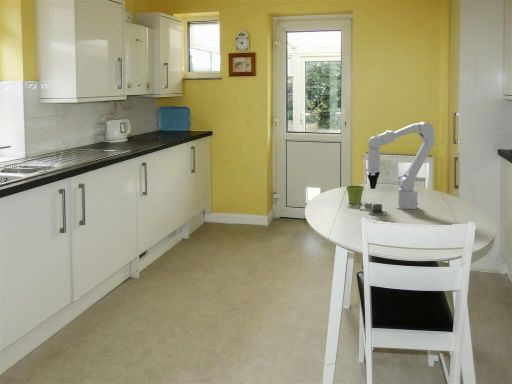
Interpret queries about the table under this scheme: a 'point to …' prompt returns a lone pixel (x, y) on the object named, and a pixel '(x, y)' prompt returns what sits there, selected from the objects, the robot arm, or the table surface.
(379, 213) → the coaster
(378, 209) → the dark grey rounded piece
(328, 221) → the table surface
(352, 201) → the plant pot
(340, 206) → the table surface
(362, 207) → the grey square holder
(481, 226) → the table surface
